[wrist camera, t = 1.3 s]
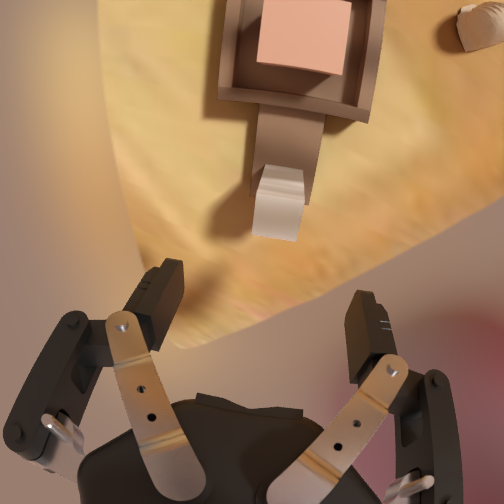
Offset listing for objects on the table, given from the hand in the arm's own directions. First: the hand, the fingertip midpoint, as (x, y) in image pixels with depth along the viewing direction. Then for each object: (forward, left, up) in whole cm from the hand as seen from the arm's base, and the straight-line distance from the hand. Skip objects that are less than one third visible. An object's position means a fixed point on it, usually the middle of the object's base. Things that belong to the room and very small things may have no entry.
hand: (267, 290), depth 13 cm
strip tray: (-8, 0, -14) cm, 16 cm away
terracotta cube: (-12, 0, -13) cm, 18 cm away
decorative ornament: (-20, +16, -15) cm, 29 cm away
